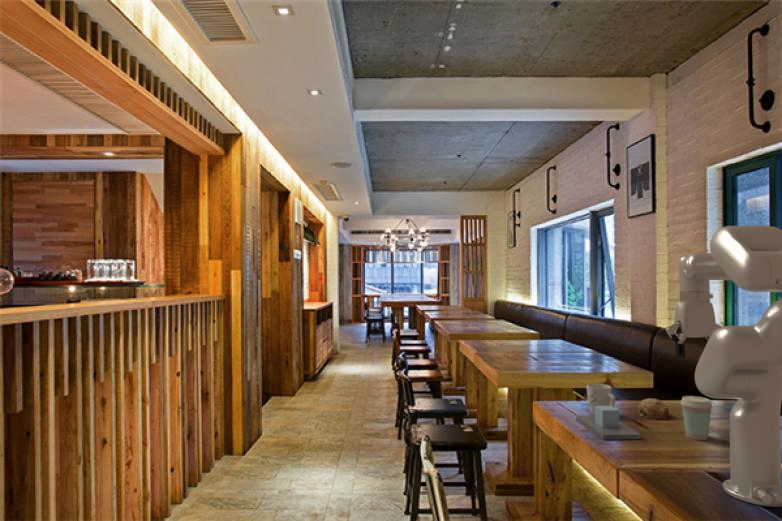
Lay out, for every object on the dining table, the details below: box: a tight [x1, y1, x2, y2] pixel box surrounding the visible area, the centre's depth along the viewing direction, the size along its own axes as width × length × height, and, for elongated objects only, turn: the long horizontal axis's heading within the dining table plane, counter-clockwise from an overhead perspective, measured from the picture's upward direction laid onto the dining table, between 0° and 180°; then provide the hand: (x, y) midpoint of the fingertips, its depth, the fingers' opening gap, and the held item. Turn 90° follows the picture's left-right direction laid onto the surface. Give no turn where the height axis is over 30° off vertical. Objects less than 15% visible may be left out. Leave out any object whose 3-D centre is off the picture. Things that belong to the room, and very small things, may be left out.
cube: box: [594, 406, 620, 428], centre depth 163 cm, size 6×6×6 cm
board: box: [576, 415, 642, 441], centre depth 163 cm, size 20×12×2 cm, turn 2°
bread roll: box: [637, 397, 670, 420], centre depth 179 cm, size 10×10×8 cm
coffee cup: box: [680, 395, 713, 441], centre depth 155 cm, size 8×8×12 cm
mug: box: [586, 383, 616, 416], centre depth 180 cm, size 11×8×10 cm
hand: (696, 357), depth 143 cm, fingers open, 9 cm apart
